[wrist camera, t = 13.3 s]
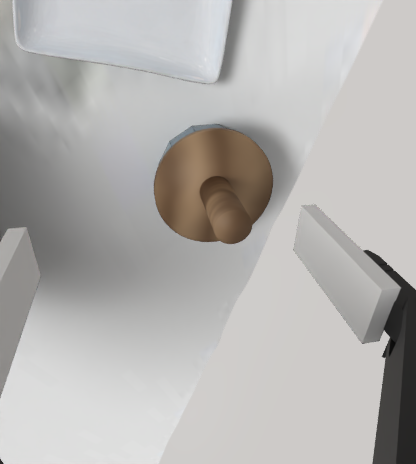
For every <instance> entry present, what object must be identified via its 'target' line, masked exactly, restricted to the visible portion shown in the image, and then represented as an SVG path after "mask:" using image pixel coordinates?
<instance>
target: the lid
mask: <svg viewBox="0 0 416 464" xmlns="http://www.w3.org/2000/svg"><path fill="white" fill-rule="evenodd" d="M272 187H273V175H272V169H271V166H270V163H269V161H268V158H267V157H266V155H265V153H264V152H263V151H262V149H261V148H260V147H259V146H258V145H257V144H256V143H255V142H254V141H253V140H251V139H250V138H249V137H247V136H246V135H244V134H242V133H240V132H238V131H235V130H231V129H226V128H208V129H203V130H199V131H196V132H193V133H191V134H189V135H187V136H185V137H183V138H182V139H180V140H179V141H178V142H176V143H175V144H174V145H173V146H172V147H171V148H170V149H169V150H168V151H167V153H166V154H165V155H164V156H163V158H162V160H161V162H160V163H159V166H158V168H157V171H156V175H155V180H154V195H155V201H156V206H157V209H158V211H159V213H160V215H161V217H162V219H163V220H164V221H165V223H166V224H167V225H168V226H169V227H170V228H171V229H172V230H174V231H175V232H176V233H178V234H179V235H181V236H183V237H186V238H188V239H191V240H195V241H201V242H216V241H221V242H223V243H226V244H235V243H238V242H240V241H242V240H244V239H245V238H246V237H247V236H248V235H249V233H250V232H251V229H252V225H253V224H254V223H255V222H256V221H257V220H258V218H259V217H260V216H261V215H262V213H263V212H264V210H265V208H266V207H267V204H268V202H269V200H270V196H271V193H272Z"/></svg>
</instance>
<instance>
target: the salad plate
mask: <svg viewBox="0 0 416 464" xmlns="http://www.w3.org/2000/svg"><path fill="white" fill-rule="evenodd" d="M232 2H233V0H12V4H13V22H14V33H15V39H16V43H17V45H18V47H19V48H20V49H22V50H24V51H26V52H30V53H34V54H40V55H46V56H52V57H59V58H66V59H73V60H80V61H87V62H93V63H100V64H106V65H112V66H118V67H124V68H130V69H135V70H141V71H146V72H151V73H155V74H160V75H164V76H168V77H172V78H177V79H181V80H185V81H190V82H196V83H202V84H213V83H216V82H217V80H218V78H219V75H220V72H221V68H222V63H223V58H224V53H225V47H226V40H227V34H228V28H229V21H230V15H231V9H232Z"/></svg>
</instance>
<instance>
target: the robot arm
mask: <svg viewBox="0 0 416 464" xmlns="http://www.w3.org/2000/svg"><path fill="white" fill-rule="evenodd" d="M293 250H294V252H295V253H296V254H297V256H298V257H299V258H300V260H301V261H302V262H303V264H304V265H305V267H306V268H307V269H308V271H309V272H310V273H311V275H312V276H313V277H314V279H315V280H316V282H317V283H318V284H319V286H320V287H321V288H322V290H323V291H324V293H325V294H326V295H327V297H328V298H329V299H330V301H331V302H332V303H333V305H334V306H335V307H336V309H337V310H338V312H339V313H340V314H341V316H342V317H343V318H344V320H345V321H346V323H347V324H348V325H349V327H350V328H351V329H352V331H353V332H354V333H355V335H356V336H357V338H358V339H359V340H360V342H361V343H362V344H364V343H369V342H376V341H380V338H381V336H382V333H383V331H384V330H385V332H386V333H387V334H388V335H389V336H390V339H389V341H388V344H387V346H386V348H385V351H384V353H383V356H382V357H384V358H385V357H386V359H385V368H384V376H383V384H382V392H381V401H380V408H379V416H378V424H377V432H376V440H375V448H374V456H373V464H416V290H415V289H414V288H413V287H412V286H411V285H410V284H409V283H408V282H406V281H405V280H404V279H403V278H402V277H401V276H400V275H399V274H398V273H397V272H396V271H393V269H392V268H391V267H390V266H389V265H387V263H386V262H385V261H384V260H383V259H382V258H381V257H379V256H378V255H376V254H374V253H372V252H371V251H369V250H365V251H363V250H362V249H361V248H360V247H358V246H357V245H356V244H355V243H354V242H353V241H352V240H351V239H350V238H349V237H348V236H347V235H346V234H345V233H344V232H343V231H342V230H341V229H340V228H339V227H338V226H337V225H336V224H335V223H334V222H333V221H331V219H330V218H328V217H327V216H326V215H325V214H324V213H323V212H322V211H321V210H320V209H319V208H318V207H317V206H316V205H304V206H301V211H300V217H299V222H298V227H297V233H296V239H295V244H294V249H293ZM40 278H41V274H40V271H39V267H38V264H37V261H36V257H35V254H34V250H33V247H32V244H31V240H30V237H29V233H28V230H27V227H21V228H8V229H7V231H6V233H5V235H4V236H3V238H2V240H1V242H0V397H1V394H2V391H3V388H4V385H5V382H6V379H7V376H8V373H9V370H10V367H11V364H12V361H13V358H14V355H15V352H16V349H17V346H18V343H19V340H20V337H21V334H22V331H23V328H24V325H25V322H26V319H27V316H28V313H29V310H30V307H31V304H32V301H33V298H34V295H35V292H36V289H37V286H38V284H39V281H40ZM0 464H3V462H2V461H1V459H0Z"/></svg>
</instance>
